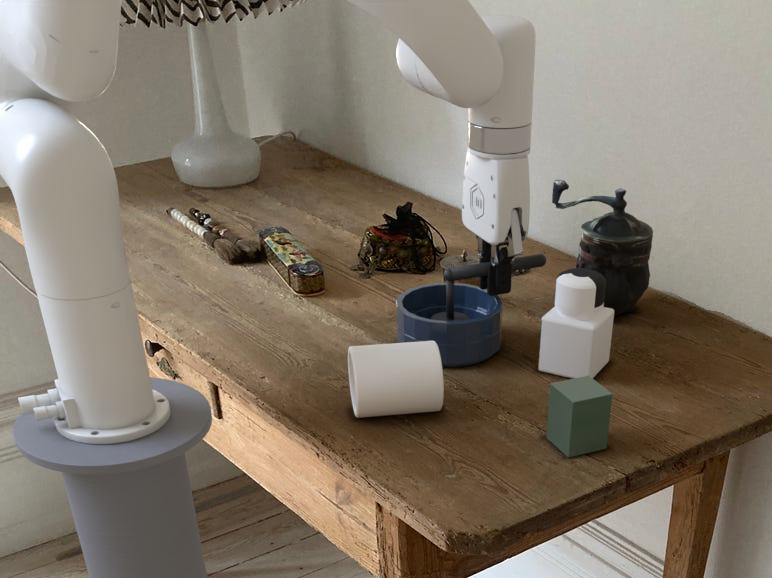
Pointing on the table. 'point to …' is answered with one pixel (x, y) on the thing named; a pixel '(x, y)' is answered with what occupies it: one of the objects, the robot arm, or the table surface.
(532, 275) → the table surface
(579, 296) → the medicine bottle
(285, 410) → the table surface
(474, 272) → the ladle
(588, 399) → the green rectangular block
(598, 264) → the coffee grinder
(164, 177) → the table surface
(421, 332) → the bowl
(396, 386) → the mug
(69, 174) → the robot arm
